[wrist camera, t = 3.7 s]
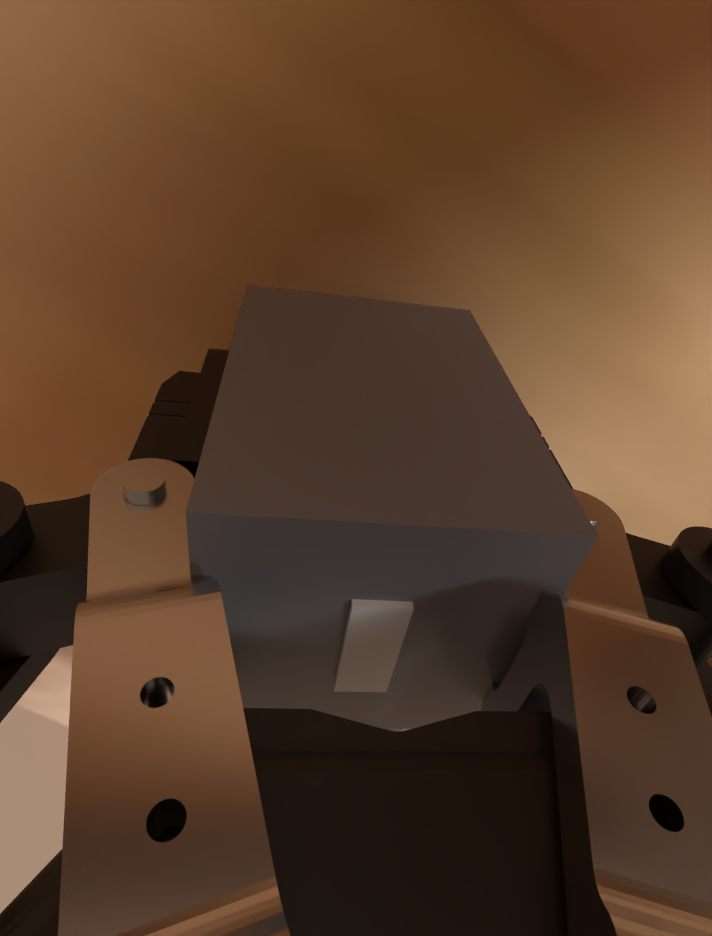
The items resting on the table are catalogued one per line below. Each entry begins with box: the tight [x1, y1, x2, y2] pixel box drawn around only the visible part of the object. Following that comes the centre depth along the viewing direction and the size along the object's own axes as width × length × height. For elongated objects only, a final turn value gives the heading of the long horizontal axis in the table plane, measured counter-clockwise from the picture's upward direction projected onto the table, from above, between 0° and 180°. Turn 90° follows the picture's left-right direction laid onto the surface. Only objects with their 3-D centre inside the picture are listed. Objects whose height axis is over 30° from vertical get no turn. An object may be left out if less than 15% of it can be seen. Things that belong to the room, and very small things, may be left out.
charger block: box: [186, 285, 598, 729], centre depth 9 cm, size 4×4×6 cm
